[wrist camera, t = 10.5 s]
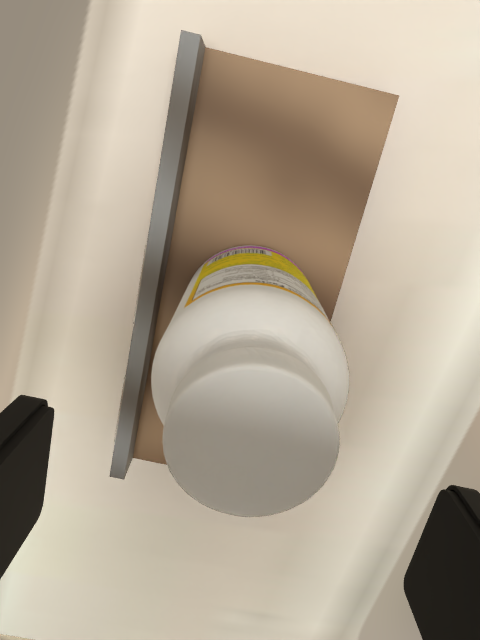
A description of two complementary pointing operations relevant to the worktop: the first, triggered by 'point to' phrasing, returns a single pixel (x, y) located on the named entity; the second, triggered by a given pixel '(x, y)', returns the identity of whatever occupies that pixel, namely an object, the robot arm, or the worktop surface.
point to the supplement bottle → (250, 385)
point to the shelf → (246, 195)
